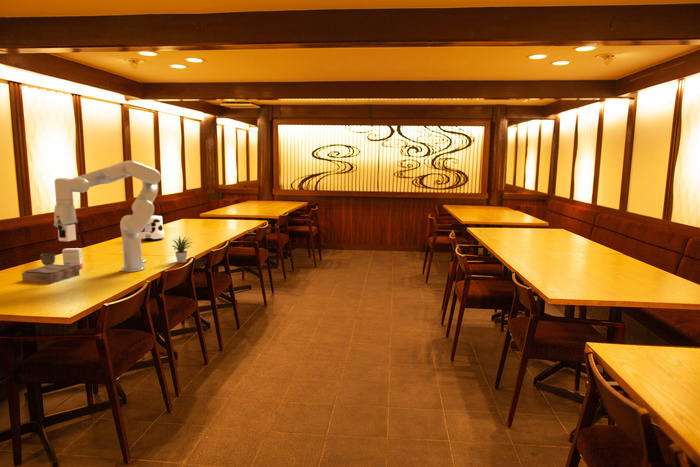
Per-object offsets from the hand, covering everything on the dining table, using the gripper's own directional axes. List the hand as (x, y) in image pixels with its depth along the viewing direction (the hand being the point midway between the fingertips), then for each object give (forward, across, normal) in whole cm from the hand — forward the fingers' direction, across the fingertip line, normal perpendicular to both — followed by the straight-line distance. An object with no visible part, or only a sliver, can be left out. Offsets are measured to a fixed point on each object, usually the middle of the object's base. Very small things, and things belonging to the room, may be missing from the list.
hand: (67, 236), depth 239 cm
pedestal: (+23, +1, -10) cm, 25 cm away
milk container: (+22, -112, -27) cm, 118 cm away
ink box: (+23, -19, -15) cm, 33 cm away
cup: (+23, -18, -31) cm, 43 cm away
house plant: (+22, -49, +36) cm, 64 cm away
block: (+2, 0, 0) cm, 2 cm away
